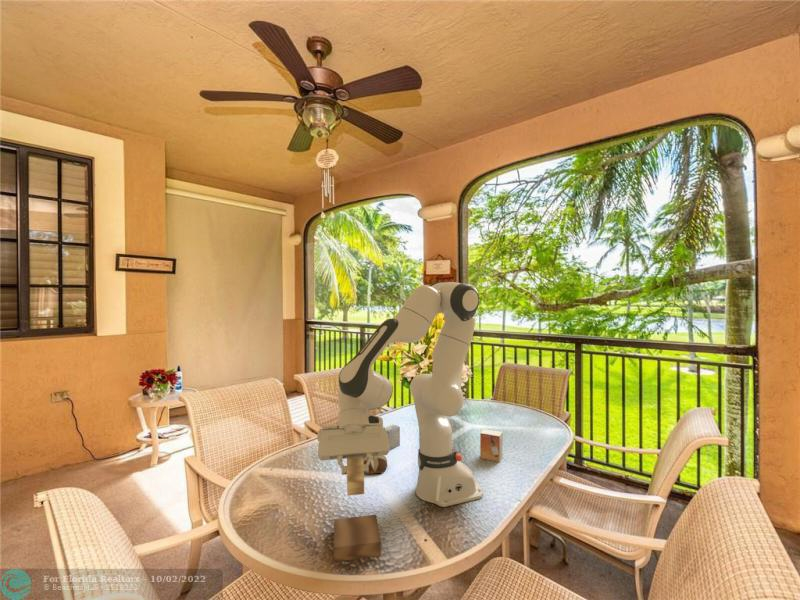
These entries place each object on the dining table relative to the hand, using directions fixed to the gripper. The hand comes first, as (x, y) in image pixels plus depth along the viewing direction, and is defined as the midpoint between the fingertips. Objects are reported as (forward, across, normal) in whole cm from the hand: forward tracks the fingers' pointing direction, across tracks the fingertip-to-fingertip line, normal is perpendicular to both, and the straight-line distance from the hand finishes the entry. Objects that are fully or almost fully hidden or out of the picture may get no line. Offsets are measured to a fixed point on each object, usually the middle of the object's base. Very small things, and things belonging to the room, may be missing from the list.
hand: (355, 473), depth 100 cm
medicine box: (-29, +18, +56) cm, 66 cm away
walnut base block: (+14, 0, +13) cm, 19 cm away
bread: (-16, +9, +44) cm, 47 cm away
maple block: (+4, 0, +3) cm, 5 cm away
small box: (-16, +57, +43) cm, 73 cm away
